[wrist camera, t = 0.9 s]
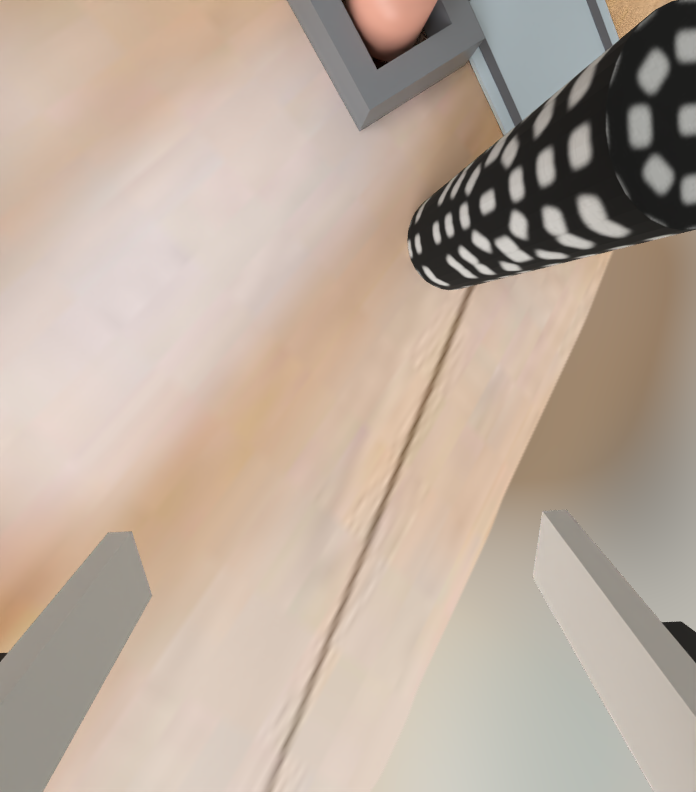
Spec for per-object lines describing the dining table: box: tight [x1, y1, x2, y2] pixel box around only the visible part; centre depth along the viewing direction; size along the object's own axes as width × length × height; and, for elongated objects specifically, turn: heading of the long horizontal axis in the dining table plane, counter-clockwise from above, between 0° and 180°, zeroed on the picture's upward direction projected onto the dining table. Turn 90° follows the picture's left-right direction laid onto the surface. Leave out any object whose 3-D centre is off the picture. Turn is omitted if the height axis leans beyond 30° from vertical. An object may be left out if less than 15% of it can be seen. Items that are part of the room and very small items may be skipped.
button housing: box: [287, 0, 485, 131], centre depth 29 cm, size 11×11×3 cm
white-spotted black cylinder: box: [408, 0, 696, 290], centre depth 25 cm, size 8×8×20 cm
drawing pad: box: [468, 0, 619, 135], centre depth 34 cm, size 18×14×1 cm
